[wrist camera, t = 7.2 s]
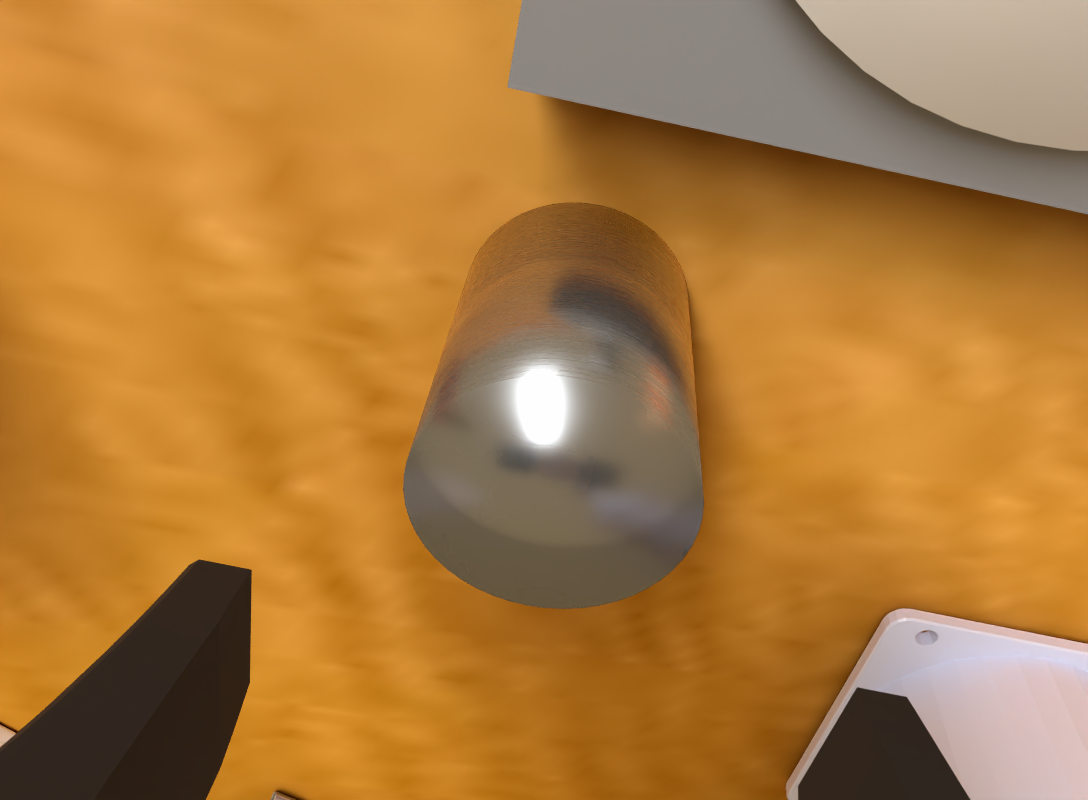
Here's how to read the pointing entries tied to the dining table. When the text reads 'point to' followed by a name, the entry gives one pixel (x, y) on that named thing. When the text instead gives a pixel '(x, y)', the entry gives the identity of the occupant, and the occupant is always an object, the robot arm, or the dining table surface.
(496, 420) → the steel weight
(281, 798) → the caliper
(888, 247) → the dining table surface
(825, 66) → the kitchen scale
